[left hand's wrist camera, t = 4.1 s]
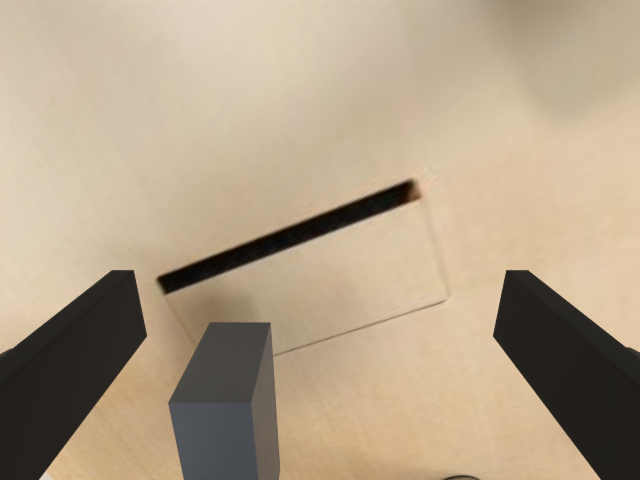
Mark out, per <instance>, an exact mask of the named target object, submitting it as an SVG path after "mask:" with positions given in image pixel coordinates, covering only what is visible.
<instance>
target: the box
mask: <svg viewBox="0 0 640 480" xmlns="http://www.w3.org/2000/svg"><path fill="white" fill-rule="evenodd" d="M168 404H169V409H170V414H171V418H172V423H173V428H174V433H175V438H176V443H177V448H178V453H179V458H180V463H181V468H182V472H183V477H184V480H279V474H280V460H279V445H278V429H277V414H276V398H275V383H274V367H273V352H272V337H271V323H210V324H209V326H208V327H207V329H206V331H205V333H204V335H203V337H202V339H201V341H200V343H199V345H198V347H197V349H196V351H195V352H194V354H193V356H192V358H191V360H190V362H189V364H188V366H187V368H186V370H185V372H184V374H183V376H182V377H181V379H180V381H179V383H178V385H177V387H176V389H175V391H174V393H173V395H172V397H171V399H170V401H169V403H168Z"/></svg>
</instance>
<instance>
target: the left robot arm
mask: <svg viewBox="0 0 640 480" xmlns="http://www.w3.org/2000/svg"><path fill="white" fill-rule="evenodd" d="M146 337H147V333H146V328H145V324H144V319H143V314H142V309H141V304H140V299H139V294H138V289H137V284H136V279H135V274H134V270H112V271H110V272H109V273H108V274H107V275H105V276H104V277H103V278H102V279H100V280H99V281H98V282H96V283H95V284H94V285H93V286H91V287H90V288H89V289H88V290H86V291H85V292H84V293H82V294H81V295H80V296H79V297H77V298H76V299H75V300H74V301H72V302H71V303H70V304H69V305H67V306H66V307H65V308H63V309H62V310H61V311H60V312H58V313H57V314H56V315H55V316H53V317H52V318H51V319H49V320H48V321H47V322H46V323H44V324H43V325H42V326H41V327H39V328H38V329H37V330H35V331H34V332H33V333H32V334H30V335H29V336H28V337H27V338H25V339H24V340H23V341H22V342H20V343H19V344H18V345H16V346H15V347H14V348H13V349H9V350H7V351H5V352H3V353H1V354H0V480H39V479H40V478H41V476H42V475H43V474H44V472H45V471H46V470H47V468H48V467H49V466H50V464H51V463H52V462H53V460H54V459H55V458H56V456H57V455H58V454H59V452H60V451H61V450H62V448H63V447H64V446H65V444H66V443H67V442H68V440H69V439H70V438H71V436H72V435H73V434H74V432H75V431H76V430H77V429H78V427H79V426H80V425H81V423H82V422H83V421H84V419H85V418H86V417H87V415H88V414H89V413H90V411H91V410H92V409H93V407H94V406H95V405H96V403H97V402H98V401H99V399H100V398H101V397H102V395H103V394H104V393H105V391H106V390H107V389H108V387H109V386H110V385H111V383H112V382H113V381H114V379H115V378H116V377H117V375H118V374H119V373H120V371H121V370H122V369H123V367H124V366H125V365H126V363H127V362H128V361H129V359H130V358H131V357H132V355H133V354H134V353H135V351H136V350H137V349H138V348H139V346H140V345H141V344H142V342H143V341H144V340H145V338H146ZM493 337H494V338H495V340H496V341H497V342H498V344H499V345H500V346H501V348H502V349H503V350H504V351H505V353H506V354H507V355H508V357H509V358H510V359H511V361H512V362H513V363H514V365H515V366H516V367H517V369H518V370H519V371H520V373H521V374H522V375H523V377H524V378H525V379H526V381H527V382H528V383H529V385H530V386H531V387H532V389H533V390H534V391H535V393H536V394H537V395H538V397H539V398H540V399H541V401H542V402H543V403H544V405H545V406H546V407H547V409H548V410H549V411H550V413H551V414H552V415H553V417H554V418H555V419H556V421H557V422H558V423H559V425H560V426H561V427H562V429H563V430H564V431H565V432H566V434H567V435H568V436H569V438H570V439H571V440H572V442H573V443H574V444H575V446H576V447H577V448H578V450H579V451H580V452H581V454H582V455H583V456H584V458H585V459H586V460H587V462H588V463H589V464H590V466H591V467H592V468H593V470H594V471H595V472H596V474H597V475H598V476H599V478H600V479H601V480H640V352H638V351H636V350H634V349H632V348H630V347H625V346H624V345H622V344H621V343H620V342H618V341H617V340H616V339H615V338H613V337H612V336H611V335H610V334H608V333H607V332H606V331H605V330H603V329H602V328H601V327H599V326H598V325H597V324H596V323H594V322H593V321H592V320H591V319H589V318H588V317H587V316H585V315H584V314H583V313H582V312H580V311H579V310H578V309H577V308H575V307H574V306H573V305H571V304H570V303H569V302H568V301H566V300H565V299H564V298H563V297H561V296H560V295H559V294H558V293H556V292H555V291H554V290H552V289H551V288H550V287H549V286H547V285H546V284H545V283H544V282H542V281H541V280H540V279H538V278H537V277H536V276H535V275H533V274H532V273H531V272H530V271H528V270H506V274H505V279H504V284H503V289H502V294H501V299H500V304H499V309H498V314H497V319H496V324H495V328H494V333H493Z"/></svg>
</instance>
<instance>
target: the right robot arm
mask: <svg viewBox="0 0 640 480" xmlns="http://www.w3.org/2000/svg"><path fill="white" fill-rule="evenodd" d="M447 480H478V479H475V478H471V477H455V478H450V479H447Z"/></svg>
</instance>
